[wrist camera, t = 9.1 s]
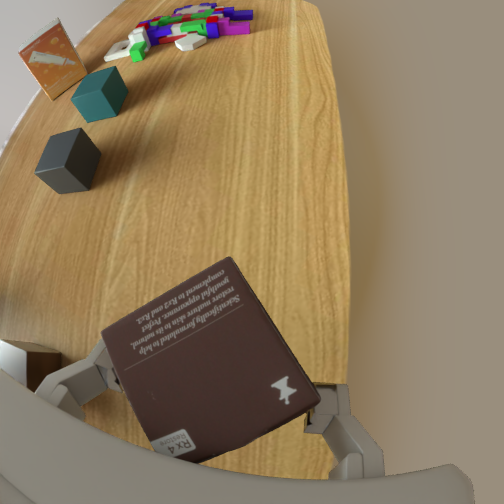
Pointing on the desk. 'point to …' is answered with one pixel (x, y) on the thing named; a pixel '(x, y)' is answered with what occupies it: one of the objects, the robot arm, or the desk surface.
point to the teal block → (100, 95)
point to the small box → (52, 59)
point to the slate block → (68, 162)
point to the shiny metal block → (28, 362)
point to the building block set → (182, 30)
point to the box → (207, 367)
